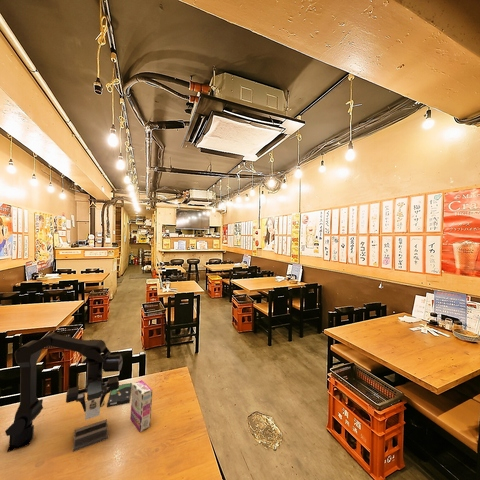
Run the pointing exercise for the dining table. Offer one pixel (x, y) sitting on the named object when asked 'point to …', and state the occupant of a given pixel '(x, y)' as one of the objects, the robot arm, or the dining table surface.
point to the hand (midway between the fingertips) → (92, 409)
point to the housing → (92, 408)
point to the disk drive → (120, 395)
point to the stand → (90, 435)
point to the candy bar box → (141, 405)
